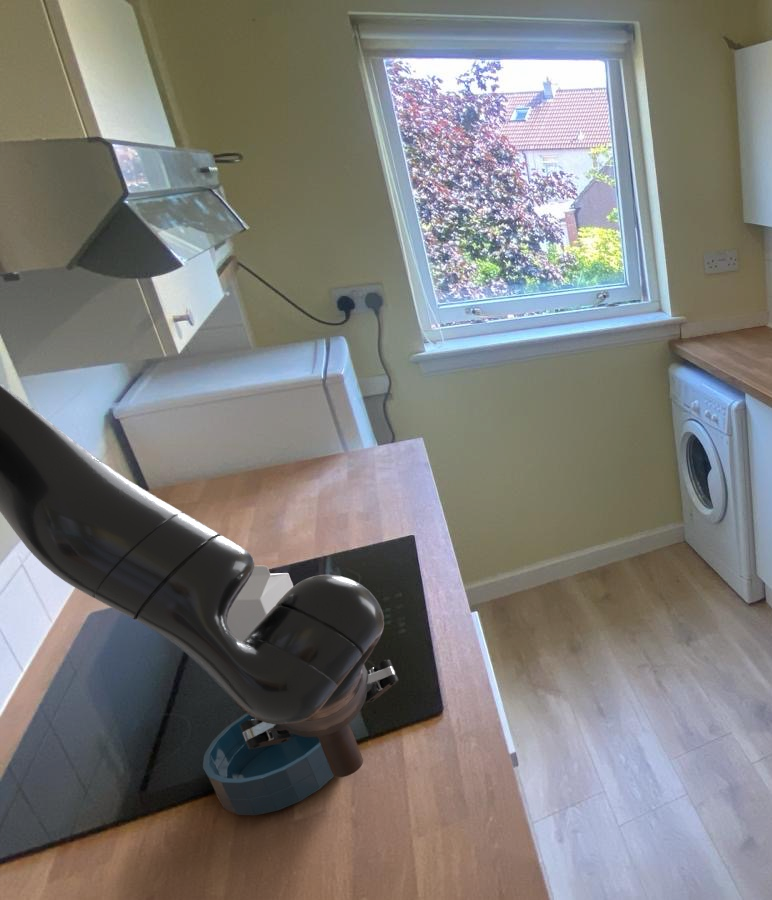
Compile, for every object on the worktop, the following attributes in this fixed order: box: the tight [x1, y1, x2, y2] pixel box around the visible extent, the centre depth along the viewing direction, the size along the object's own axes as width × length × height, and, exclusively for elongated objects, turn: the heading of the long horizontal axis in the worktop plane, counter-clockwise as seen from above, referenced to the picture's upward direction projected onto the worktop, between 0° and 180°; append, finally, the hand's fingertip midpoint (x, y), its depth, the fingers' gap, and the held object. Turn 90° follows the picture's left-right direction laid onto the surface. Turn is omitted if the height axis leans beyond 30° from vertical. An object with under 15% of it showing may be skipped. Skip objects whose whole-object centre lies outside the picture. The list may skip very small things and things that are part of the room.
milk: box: [227, 565, 294, 641], centre depth 101 cm, size 6×6×22 cm
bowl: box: [202, 712, 335, 816], centre depth 92 cm, size 14×14×6 cm
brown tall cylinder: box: [318, 723, 364, 778], centre depth 79 cm, size 3×3×10 cm
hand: (327, 716), depth 80 cm, fingers closed on brown tall cylinder, 3 cm apart
